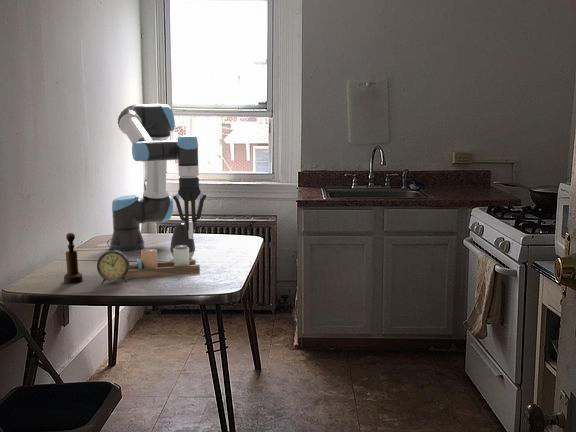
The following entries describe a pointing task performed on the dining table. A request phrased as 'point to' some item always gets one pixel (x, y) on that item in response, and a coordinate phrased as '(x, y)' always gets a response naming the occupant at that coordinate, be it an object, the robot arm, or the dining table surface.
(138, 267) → the pusher
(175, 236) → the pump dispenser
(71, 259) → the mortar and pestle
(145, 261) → the jar in lane
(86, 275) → the dining table surface
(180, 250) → the jar
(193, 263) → the lane
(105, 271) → the alarm clock
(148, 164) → the robot arm
